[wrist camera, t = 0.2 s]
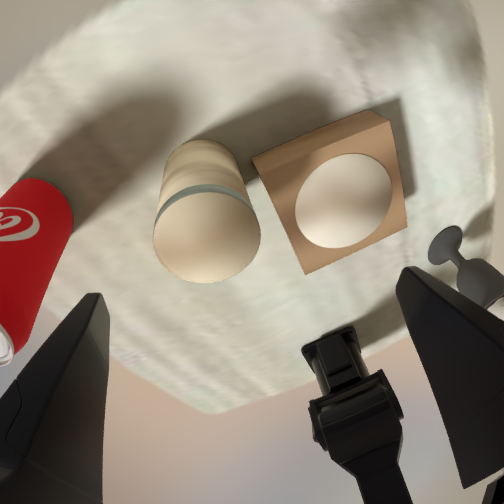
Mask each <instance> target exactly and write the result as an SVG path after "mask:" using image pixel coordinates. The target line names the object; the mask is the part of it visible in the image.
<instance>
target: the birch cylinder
mask: <svg viewBox="0 0 504 504" xmlns="http://www.w3.org/2000/svg"><path fill="white" fill-rule="evenodd" d="M260 238H261V233H260V226H259V223H258V220H257V217H256V214H255V212H254V210H253V207H252V204H251V202H250V199H249V196H248V193H247V190H246V188H245V185H244V182H243V179H242V177H241V174H240V171H239V168H238V166H237V163H236V160H235V158H234V156H233V155H232V153H231V152H230V151H229V150H228V149H227V148H226V147H224V146H223V145H221V144H219V143H217V142H215V141H211V140H204V139H201V140H193V141H190V142H187V143H185V144H183V145H181V146H179V147H178V148H177V149H176V150H175V151H174V152H173V153H172V154H171V155H170V157H169V158H168V160H167V162H166V165H165V170H164V175H163V180H162V186H161V191H160V197H159V203H158V209H157V215H156V220H155V225H154V232H153V245H154V250H155V253H156V256H157V258H158V259H159V261H160V262H161V264H162V265H163V266H164V267H165V268H166V269H167V270H168V271H169V272H171V273H172V274H174V275H175V276H177V277H179V278H181V279H184V280H187V281H191V282H197V283H212V282H218V281H222V280H225V279H228V278H230V277H232V276H234V275H236V274H238V273H239V272H241V271H242V270H243V269H245V268H246V267H247V266H248V265H249V264H250V263H251V261H252V260H253V259H254V257H255V255H256V254H257V251H258V249H259V245H260Z"/></svg>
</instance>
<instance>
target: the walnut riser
mask: <svg viewBox="0 0 504 504" xmlns="http://www.w3.org/2000/svg"><path fill="white" fill-rule="evenodd" d="M251 159H252V161H253V163H254V165H255V167H256V169H257V171H258V173H259V175H260V177H261V180H262V182H263V184H264V186H265V188H266V190H267V192H268V194H269V197H270V199H271V201H272V203H273V205H274V207H275V210H276V212H277V214H278V216H279V218H280V220H281V223H282V225H283V227H284V229H285V231H286V234H287V236H288V238H289V240H290V242H291V245H292V247H293V249H294V251H295V254H296V256H297V258H298V260H299V262H300V265H301V267H302V269H303V271H304V274H305V275H307V274H309V273H311V272H313V271H316V270H318V269H320V268H322V267H324V266H326V265H329V264H331V263H333V262H335V261H337V260H339V259H342V258H344V257H346V256H348V255H350V254H352V253H354V252H356V251H359V250H361V249H363V248H365V247H367V246H369V245H371V244H373V243H375V242H377V241H380V240H382V239H384V238H386V237H388V236H390V235H392V234H394V233H396V232H398V231H400V230H402V229H404V228H406V227H408V226H407V217H406V209H405V202H404V195H403V188H402V181H401V175H400V169H399V164H398V158H397V153H396V148H395V143H394V138H393V134H392V129H391V124H390V121H389V120H387V119H385V118H383V117H381V116H379V115H377V114H375V113H373V112H371V111H369V110H365V111H362V112H360V113H357V114H354V115H352V116H349V117H346V118H344V119H341V120H339V121H336V122H334V123H331V124H329V125H326V126H324V127H321V128H319V129H316V130H314V131H312V132H309V133H307V134H304V135H302V136H300V137H297V138H295V139H293V140H290V141H288V142H286V143H283V144H281V145H279V146H277V147H274V148H272V149H270V150H268V151H265V152H263V153H261V154H259V155H257V156H255V157H252V158H251Z"/></svg>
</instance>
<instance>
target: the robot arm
mask: <svg viewBox="0 0 504 504" xmlns="http://www.w3.org/2000/svg"><path fill="white" fill-rule="evenodd" d="M396 295H397V298H398V301H399V304H400V306H401V309H402V312H403V315H404V318H405V321H406V325H407V328H408V330H409V333H410V336H411V338H412V340H413V343H414V345H415V348H416V350H417V352H418V355H419V357H420V360H421V362H422V365H423V367H424V370H425V372H426V375H427V377H428V380H429V383H430V385H431V388H432V391H433V394H434V396H435V399H436V401H437V405H438V407H439V410H440V413H441V416H442V419H443V422H444V425H445V428H446V431H447V434H448V437H449V441H450V444H451V448H452V451H453V454H454V458H455V461H456V465H457V468H458V472H459V476H460V479H461V483H462V486H463V489H466V488H468V487H470V486H472V485H474V484H476V483H477V482H479V481H481V480H483V479H485V478H486V477H488V476H490V475H492V474H494V473H496V472H497V471H499V470H501V469H502V470H503V474H502V475H501V476H499V477H498V478H497V479H495V480H494V481H493V482H491V483H490V484H488V485H487V488H486V492H485V495H484V498H483V501H482V504H504V321H503V320H502V319H500V318H498V317H497V316H496V315H494V314H492V313H491V312H489V311H488V310H486V309H485V308H483V307H482V306H480V305H479V304H477V303H475V302H474V301H472V300H471V299H469V298H468V297H466V296H464V295H463V294H461V293H460V292H458V291H456V290H455V289H453V288H451V287H450V286H448V285H447V284H445V283H443V282H442V281H440V280H438V279H437V278H435V277H433V276H432V275H430V274H428V273H427V272H425V271H423V270H421V269H420V268H418V267H416V266H409V267H405V268H404V269H403V270H402V272H401V275H400V277H399V280H398V282H397V285H396ZM109 336H110V316H109V312H108V309H107V306H106V304H105V301H104V298H103V296H102V294H101V293H87V294H86V295H85V296H84V297H83V298H82V299H81V300H80V302H79V303H78V304H77V305H76V306H75V307H74V308H73V309H72V311H71V312H70V313H69V314H68V315H67V316H66V317H65V319H64V320H63V321H62V322H61V323H60V324H59V325H58V327H57V328H56V329H55V330H54V331H53V333H52V334H51V335H50V336H49V337H48V339H47V340H46V341H45V342H44V343H43V345H42V346H41V347H40V348H39V350H38V351H37V352H36V353H35V355H34V356H33V357H32V358H31V359H30V361H29V362H28V363H27V364H26V366H25V367H24V368H23V370H22V371H21V372H20V373H19V375H18V376H17V379H15V380H14V381H13V382H12V384H11V385H10V386H9V388H8V389H7V390H6V392H5V393H4V394H3V396H2V397H1V398H0V504H103V502H102V501H103V497H102V465H103V464H102V463H103V462H102V461H103V436H104V419H105V404H106V394H107V383H108V374H109ZM301 352H302V354H303V356H304V358H305V359H306V361H307V362H308V364H309V366H310V367H311V369H312V371H313V372H314V373H315V374H316V377H317V380H318V383H319V386H320V389H321V392H322V395H323V396H322V397H320V398H317V399H315V400H314V399H313V400H310V401H309V403H310V407H309V408H308V410H309V413H310V417H311V421H312V432H313V439H314V441H315V442H317V443H319V444H320V445H321V446H322V448H323V450H324V451H329V454H330V457H331V459H332V460H333V461H334V462H336V463H337V464H338V465H340V466H341V467H342V468H344V469H345V470H346V471H347V472H349V473H350V474H351V475H353V476H354V477H355V478H356V480H357V483H358V486H359V489H360V492H361V495H362V498H363V501H364V504H413V502H412V500H411V497H410V494H409V491H408V489H407V486H406V483H405V481H404V478H403V475H402V473H401V470H400V467H399V465H398V462H399V458H400V453H401V448H402V443H403V432H402V426H401V424H400V421H399V420H401V419H403V418H404V415H403V412H402V409H401V407H400V404H399V401H398V399H397V397H396V395H395V393H394V391H393V389H392V387H391V385H390V383H389V382H388V380H387V378H386V376H385V374H384V372H383V370H382V369H380V370H378V372H376V373H374V374H372V375H370V374H369V372H368V370H367V367H366V365H365V363H364V361H363V359H362V356H361V349H360V346H359V342H358V338H357V335H356V331H355V329H354V327H353V326H351V327H348V328H346V329H344V330H341V331H339V332H337V333H335V334H333V335H330V336H328V337H326V338H324V339H321V340H319V341H317V342H314V343H312V344H310V345H307V346H305V347H303V348H302V349H301Z"/></svg>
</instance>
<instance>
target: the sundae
mask: <svg viewBox="0 0 504 504" xmlns="http://www.w3.org/2000/svg"><path fill="white" fill-rule="evenodd" d="M461 242H462V232H461V230H460V229H459V228H458V227H449V228H446V229H445V230H443V231H441V232H440V233H439V234H438V235H437V236H436V237H435V239H434V240H433V242H432V243H431V245H430V248H429V251H428V260H429V261H430V262H431V263H432V264H434V265H440V264H443V263H445V262H446V261H448V260H451V261H452V262H453V263H454V264H455V265H456V266H457V268H458V269H459V271H458V274H457V288H458V290H459V292H460V293H461V294H463V295H464V296H466V297H468V298H469V299H471V300H472V301H474V302H475V303H477V304H479V305H480V306H482V307H483V308H485V309H486V310H488V311H489V312H491V313H492V314H494V315H496V316H497V317H498V318H500V319H502V320H503V321H504V276H503V275H502V274H501V273H500V272H499V271H498V270H496V269H495V268H494V267H493V266H492V265H490V264H489V263H487V262H486V261H484V260H483V259H481V258H477V259H471V260H465V259H464V258H463V257H462V255H461V254H460V253H459V251H458V249H459V248H460V245H461Z"/></svg>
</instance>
